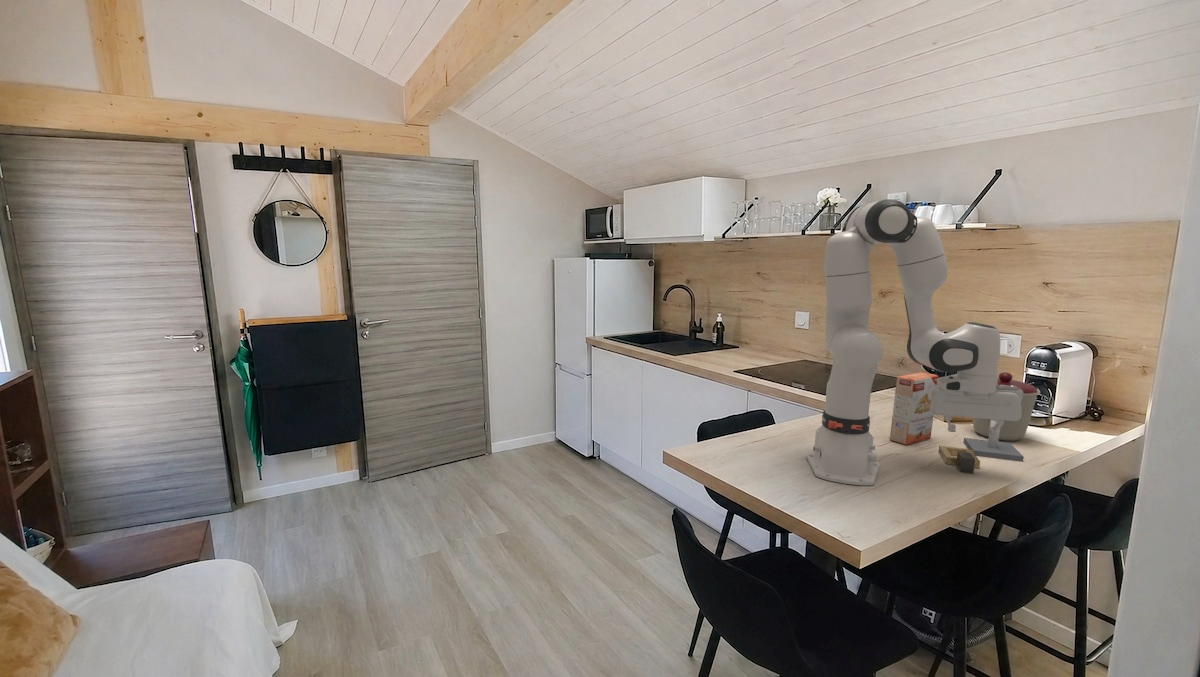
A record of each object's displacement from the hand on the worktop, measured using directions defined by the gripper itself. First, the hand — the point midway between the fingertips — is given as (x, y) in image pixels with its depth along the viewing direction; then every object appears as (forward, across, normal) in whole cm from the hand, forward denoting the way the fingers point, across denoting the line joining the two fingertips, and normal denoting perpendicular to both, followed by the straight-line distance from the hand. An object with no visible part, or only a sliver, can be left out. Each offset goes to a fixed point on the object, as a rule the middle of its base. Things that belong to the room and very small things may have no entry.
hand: (972, 433), depth 146 cm
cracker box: (+10, +11, -21) cm, 26 cm away
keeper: (+11, -10, -19) cm, 24 cm away
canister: (+11, -16, -37) cm, 42 cm away
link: (+10, +1, -5) cm, 11 cm away
